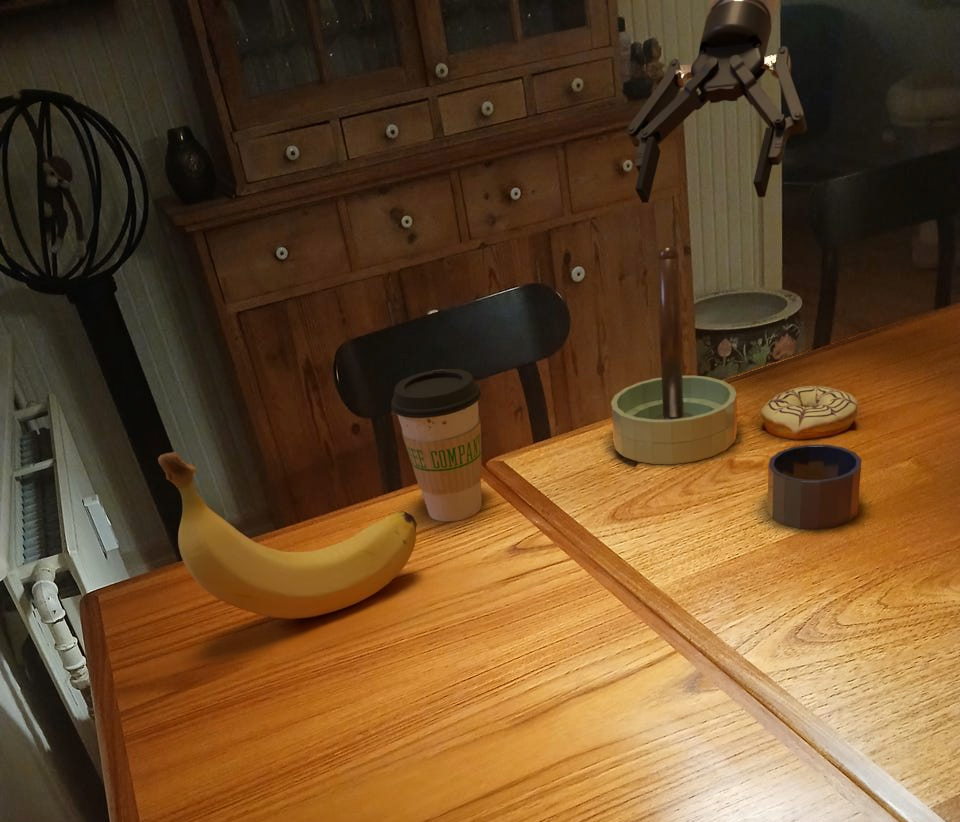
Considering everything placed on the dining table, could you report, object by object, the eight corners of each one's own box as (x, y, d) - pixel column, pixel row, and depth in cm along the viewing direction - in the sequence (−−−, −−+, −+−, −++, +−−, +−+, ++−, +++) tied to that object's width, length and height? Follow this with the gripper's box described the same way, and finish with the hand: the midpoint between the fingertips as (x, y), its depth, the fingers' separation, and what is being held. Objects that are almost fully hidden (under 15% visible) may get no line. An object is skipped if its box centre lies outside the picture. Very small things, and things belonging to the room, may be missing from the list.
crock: (858, 498, 102) (862, 444, 98) (855, 538, 95) (859, 482, 92) (772, 496, 105) (773, 444, 101) (763, 535, 98) (764, 481, 95)
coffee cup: (405, 531, 110) (379, 404, 102) (421, 492, 118) (398, 371, 110) (491, 526, 108) (472, 395, 100) (502, 487, 116) (484, 362, 108)
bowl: (743, 421, 122) (743, 374, 119) (727, 471, 111) (726, 421, 108) (628, 421, 127) (625, 376, 124) (602, 469, 116) (598, 422, 113)
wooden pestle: (698, 430, 120) (694, 237, 107) (691, 447, 116) (686, 249, 104) (657, 430, 121) (648, 240, 109) (649, 446, 118) (639, 252, 105)
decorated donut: (743, 426, 121) (744, 397, 118) (817, 404, 123) (818, 374, 121) (797, 453, 112) (798, 422, 110) (874, 428, 115) (876, 397, 113)
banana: (414, 560, 104) (376, 378, 93) (436, 582, 100) (400, 393, 89) (208, 636, 97) (140, 449, 86) (222, 663, 93) (153, 469, 82)
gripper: (856, 32, 110) (817, 207, 108) (645, 58, 122) (607, 216, 120) (849, -21, 103) (807, 165, 101) (627, 12, 115) (585, 178, 113)
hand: (698, 193), depth 110 cm, fingers open, 13 cm apart
